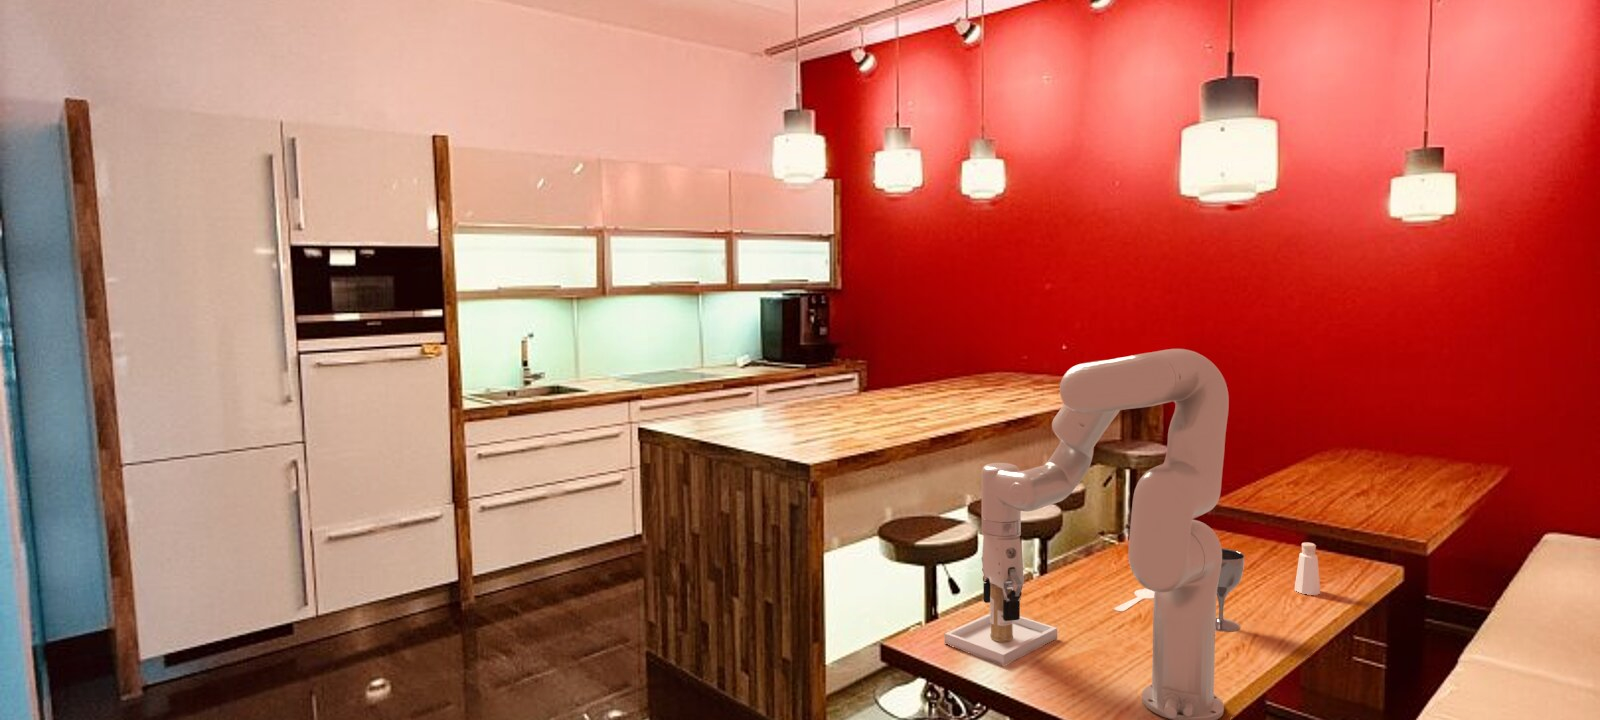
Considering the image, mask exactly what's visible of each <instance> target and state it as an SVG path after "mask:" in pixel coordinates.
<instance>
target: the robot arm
mask: <svg viewBox="0 0 1600 720" xmlns="http://www.w3.org/2000/svg"><path fill="white" fill-rule="evenodd" d="M1059 396H1060V398H1061V400H1062V403H1063V404H1062V406H1061V407H1060V409H1059V411H1058V412H1057V413H1056V415H1055V416H1054V418H1053V419H1052V422H1051V428H1052V429H1051V430H1052V431H1053V434H1054V435H1055V436H1056V438H1058V440H1059V444H1058V445H1057V447H1056V449H1055V450H1054V452H1053V453H1052V455H1050V457H1049V459H1048V460H1047V462H1046V463H1045V464H1044V465H1039V466H1035V467H1033V468H1029V469H1025V470H1021V469H1020V468H1019V467H1018V466H1017V465H1016V464H1012V463H1009V462H992V463H991V462H990V463H987V464H985V465H984V466H983V467H982V469H981V477H980V480H981V484H980V485H981V486H980V487H981V491H980V492H981V496H980V497H981V535H983V539H982V552H981V553H982V556H981V563H982V568H981V569H982V570H981V571H982V573H983V576H982V582H983V586H982V587H983V602H984V603H985V604H990V595H991V594H990V592H991V587H990V586H991V584H990V576H991V578H992V580H993V583H994V584H996V585H997V586H998V587H1000V588H1002V590H1003V594H1004V597H1005V600H1003V619H1004V620H1005V621H1012V620H1019V619H1020V616H1021V615H1020V614H1021V613H1020V612H1021V610H1020V607H1021V606H1020V605H1021V599H1022V598H1021V596H1022V589H1023V586H1024V583H1025V582H1024V581H1025V580H1024V559H1023V549H1022V543H1021V542H1022V541H1021V537H1020V536H1021V534H1022V532H1021V530H1022V529H1021V527H1022V525H1021V523H1022V522H1021V521H1022V517H1021V516H1022V515H1021V511H1022V512H1033V511H1036V510H1039V509H1043V508H1044V507H1048V506H1051V505H1054V504H1057V503H1060V502H1063V501H1064V500H1065V499H1067V498H1068V497H1069V496H1070V495H1071V494H1072V493H1073V491H1074V490H1075V489H1076V487H1077V486H1078V485H1079V484H1080V482H1082V480H1083V478H1084V477H1085V475H1086V474H1087V472H1088V471H1089V469H1090V467H1091V463H1092V461H1093V458H1094V457H1093V456H1094V452H1095V451H1094V449H1095V448H1094V447H1096V444H1097V443H1098V442H1099V441H1100V439H1101V437H1102V436H1103V435H1104V433H1105V431H1106V430H1107V429H1108V428H1109V426H1110V425H1111V423H1112V422H1113V421H1114V419H1115V418H1116V417H1117V415H1118V414H1119V413H1120V411H1123V410H1124V411H1125V410H1129V409H1132V410H1133V409H1141V408H1148V407H1154V406H1158V405H1163V404H1168V403H1172V402H1173V403H1174V404H1175V408H1174V412H1173V415H1172V417H1171V420H1170V423H1169V427H1168V433H1167V444H1166V452H1165V453H1166V454H1165V458H1164V461H1163V463H1161V464H1159V465H1156V466H1154V467H1152V468H1150V469H1148V470H1147V471H1145V473H1143V474H1142V476H1141V477H1140V478H1139V480H1138V481H1137V482H1136V483H1137V484H1136V486H1135V488H1134V491H1133V492H1134V493H1133V497H1132V505H1131V506H1132V507H1131V516H1130V517H1131V518H1130V526H1129V537H1128V538H1129V539H1128V540H1129V541H1128V562H1129V567H1130V569H1131V572H1132V574H1133V576H1134V578H1135V579H1136V581H1138V583H1139V584H1140V585H1141V586H1142V587H1143V588H1144V589H1145V588H1147V589H1149V590H1151V591H1154V592H1155V593H1154V599H1153V614H1152V615H1153V616H1152V666H1151V667H1152V672H1151V673H1152V675H1151V678H1152V679H1151V684H1149V685H1148V686H1146V687H1145V688H1144V689H1143V690H1142V693H1141V696H1142V697H1141V698H1142V699H1141V700H1142V703H1143V704H1144V705H1145V706H1146V708H1147V709H1148V710H1150V711H1151V712H1152V713H1154V714H1156V715H1158V716H1160V717H1162V718H1165V719H1168V720H1218V719H1220V718H1221V717H1222V716H1223V715H1224V710H1225V705H1224V702H1223V701H1222V699H1221V698H1220V697H1219V696H1217V694H1215V693H1214V692H1215V659H1216V658H1215V653H1216V650H1215V649H1216V630H1215V620H1216V618H1217V599H1218V597H1217V587H1218V581H1219V576H1220V570H1221V564H1222V548H1223V547H1222V544H1221V542H1220V539H1219V537H1218V535H1217V533H1216V532H1215V531H1214V530H1213V528H1211V527H1210V526H1209V525H1207V524H1206V523H1204V522H1202V521H1200V520H1196V518H1198V517H1200V516H1203V515H1204V514H1207V513H1208V512H1211V511H1212V510H1213V509H1214V508H1215V507H1216V506H1217V504H1218V503H1219V500H1220V497H1221V492H1222V491H1221V490H1222V479H1223V468H1224V460H1225V448H1226V447H1225V445H1226V444H1225V443H1226V432H1227V424H1228V417H1229V407H1230V406H1229V404H1230V403H1229V401H1230V400H1229V399H1230V398H1229V397H1230V396H1229V391H1228V387H1227V382H1226V379H1225V378H1224V376H1223V374H1222V372H1221V371H1220V370H1219V368H1218V367H1217V366H1216V365H1215V364H1214V363H1213V362H1212V361H1211V360H1210V359H1208V358H1207V357H1206V356H1204V355H1202V354H1200V353H1198V352H1196V351H1193V350H1190V349H1185V348H1170V349H1163V350H1157V351H1152V352H1144V353H1138V354H1134V355H1133V354H1132V355H1128V356H1123V357H1116V358H1111V359H1103V360H1094V361H1088V362H1083V363H1079V364H1076V365H1074V366H1071V367H1070V368H1069V369H1068V370H1067V371H1066V372H1065V373H1064V375H1063V376H1062V378H1061V380H1060V383H1059ZM1005 583H1012V584H1006V585H1005ZM1007 589H1012V590H1011V592H1010V593H1008V590H1007Z"/></svg>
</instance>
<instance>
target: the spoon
mask: <svg viewBox="0 0 1600 720" xmlns="http://www.w3.org/2000/svg"><path fill="white" fill-rule="evenodd" d="M1154 593H1155V592H1154V591H1151V590H1149V589H1147V588H1145V587H1144V588H1141V589H1137V590H1135V591H1134V593H1133V594H1135V595H1134V596H1135V598H1132V599H1130V600H1128V601H1125V602H1123V603H1121V604H1119V605H1117V606H1114V607H1113V610H1114V611H1116V612H1125V611H1127V610H1128V609H1130V608H1132V607H1133V606H1134V605H1136V604H1137V603H1139V602H1140V601H1142V600H1145V599H1146V600H1151V599H1152V600H1154Z"/></svg>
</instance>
